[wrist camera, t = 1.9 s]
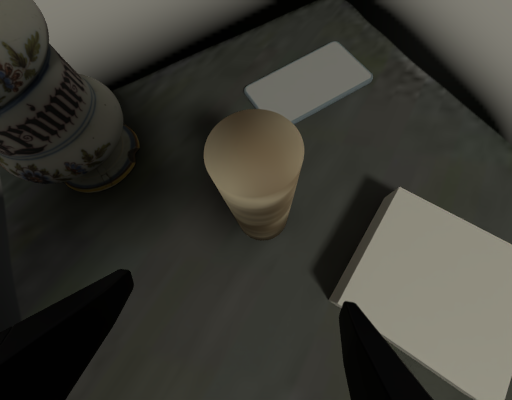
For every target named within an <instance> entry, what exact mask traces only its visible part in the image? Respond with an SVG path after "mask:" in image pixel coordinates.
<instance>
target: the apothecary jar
mask: <svg viewBox="0 0 512 400" xmlns="http://www.w3.org/2000/svg"><path fill="white" fill-rule="evenodd" d="M138 150H139V140H138V138H137V135H136V134H135V133H134V131H133V130H132V129H131V128H129V127H128V126H126V125H124V124H123V113H122V110H121V106H120V104H119V102H118V100H117V98H116V97H115V95H114V94H113V93H112V92H111V91H110V90H109V89H108V88H107V87H106V86H105V85H104V84H102V83H101V82H99V81H97V80H95V79H93V78H91V77H88V76H85V75H81V74H78V73H77V72H76V71H75V70H74V69H73V68H72V67H71V66H70V65H69V64H68V63H67V62H66V61H65V60H64V59H63V58H62V57H61V56H60V55H59V54H58V53H57V51H56V50H55V49H54V48H53V47H52V46H51V45H50V44H49V35H48V28H47V24H46V21H45V19H44V17H43V14H42V13H41V11H40V9H39V8H38V6H37V5H36V3H35V2H34V1H33V0H0V165H1V166H2V167H3V168H4V169H6V170H7V171H8V172H10V173H11V174H13V175H15V176H17V177H19V178H21V179H24V180H27V181H30V182H35V183H44V184H53V183H61V182H65V184H66V185H67V186H69V187H70V188H72V189H73V190H76V191H79V192H85V193H93V192H99V191H103V190H106V189H108V188H111V187H113V186H114V185H116V184H118V183H119V182H121V181H122V180H123V179H124V178H125V177H126V176H127V175H128V174H129V173H130V172H131V170H132V169H133V167H134V166H135V164H136V161H135V154H136V152H137V151H138Z"/></svg>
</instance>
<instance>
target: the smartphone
mask: <svg viewBox="0 0 512 400" xmlns="http://www.w3.org/2000/svg"><path fill="white" fill-rule="evenodd" d="M372 79H373V75H372V73H371V72H370V71H369V70H368V69H366V68H365V67H364V66H363V65H362V64H361V63H360V62H359V61H358V60H357V59H356V58H355V57H354V56H353V55H352V54H351V53H350V52H348V51H347V50H346V49H345V48H344V47H343V46H342V45H341V44H340V43H339V42H336V41H333V42H330V43H328V44H327V45H325V46H323V47H321V48H319V49H317V50H315V51H313V52H311V53H309V54H307V55H305V56H303V57H301V58H299V59H298V60H296V61H294V62H292V63H290V64H288V65H286V66H284V67H282V68H280V69H278V70H276V71H274V72H272V73H270V74H269V75H267V76H265V77H263V78H261V79H259V80H257V81H255V82H253V83H251V84H249V85H247V86H246V87H245V88H244V94H245V95H246V97H247V98H248V99H249V101H250V102H251V103H252V104H253V106H254V107H255V108H256V109H264V110H269V111H273V112H276V113H278V114H280V115H282V116H284V117H285V118H287V119H288V120H289V121H291V122H292V123H293V124H295V123H297V122H299V121H301V120H303V119H305V118H306V117H308V116H310V115H312V114H314V113H316V112H318V111H319V110H321V109H323V108H325V107H327V106H329V105H330V104H332V103H334V102H336V101H338V100H340V99H341V98H343V97H345V96H347V95H349V94H351V93H352V92H354V91H356V90H358V89H360V88H362V87H363V86H365V85H367V84H369V83H370V82H371V81H372Z"/></svg>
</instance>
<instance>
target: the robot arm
mask: <svg viewBox="0 0 512 400" xmlns="http://www.w3.org/2000/svg"><path fill="white" fill-rule="evenodd" d="M133 287H134V283H133V279H132V275H131V272H130V271H129V270H124V269H119V270H117V271H115V272H113V273H111V274H110V275H108V276H106V277H104V278H102V279H100V280H98V281H96V282H94V283H93V284H91V285H89V286H87V287H85V288H83V289H81V290H79V291H77V292H76V293H74V294H72V295H70V296H68V297H66V298H64V299H62V300H61V301H59V302H57V303H55V304H53V305H51V306H49V307H47V308H45V309H44V310H42V311H40V312H38V313H36V314H34V315H32V316H30V317H28V318H27V319H25V320H23V321H21V322H19V323H17V324H15V325H14V326H13V327H9V328H8V329H6V330H4V331H2V332H0V400H65V399H66V398H67V396H68V395H69V393H70V392H71V390H72V389H73V387H74V386H75V384H76V383H77V381H78V379H79V378H80V376H81V375H82V373H83V372H84V370H85V369H86V367H87V366H88V364H89V362H90V361H91V359H92V358H93V356H94V355H95V353H96V352H97V350H98V349H99V347H100V346H101V344H102V342H103V341H104V339H105V338H106V336H107V335H108V333H109V332H110V330H111V328H112V327H113V325H114V324H115V322H116V320H117V318H118V316H119V314H120V313H121V311H122V309H123V307H124V305H125V303H126V301H127V299H128V297H129V296H130V294H131V292H132V290H133ZM339 325H340V334H341V344H342V354H343V362H344V368H345V373H346V378H347V383H348V388H349V393H350V397H351V400H433V398H432V397H431V396H430V395H429V394H428V392H427V391H426V390H425V389H424V387H423V386H422V385H421V384H420V382H419V381H418V380H417V379H416V377H415V376H414V375H413V374H412V372H411V371H410V370H409V369H408V367H407V366H406V365H405V364H404V362H403V361H402V360H401V359H400V357H399V356H398V355H397V354H396V353H395V351H394V350H393V349H392V348H391V346H390V345H389V344H388V343H387V341H386V340H385V339H384V338H383V336H382V335H381V334H380V333H379V331H378V330H377V329H376V328H375V326H374V325H373V324H372V323H371V321H370V320H369V319H368V318H367V316H366V315H365V314H364V313H363V312H362V310H361V309H360V308H359V307H358V305H357V304H356V303H354V302H349V301H344V302H343V305H342V308H341V311H340V315H339Z"/></svg>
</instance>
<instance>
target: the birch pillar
mask: <svg viewBox="0 0 512 400" xmlns="http://www.w3.org/2000/svg"><path fill="white" fill-rule="evenodd" d="M303 158H304V144H303V140H302V137H301V135H300V133H299V131H298V129H297V128H296V127H295V125H294V124H293V123H292V122H291V121H289V120H288V119H287V118H285V117H284V116H282V115H280V114H278V113H276V112H273V111H269V110H264V109H248V110H243V111H239V112H236V113H234V114H231V115H229V116H228V117H226V118H224V119H223V120H222V121H220V122H219V123H218V124H217V125H216V126H215V127H214V128H213V130H212V131H211V133H210V134H209V136H208V138H207V140H206V143H205V147H204V163H205V166H206V169H207V171H208V173H209V175H210V177H211V178H212V180H213V182H214V184H215V185H216V187H217V189H218V190H219V192H220V194H221V195H222V197H223V199H224V200H225V202H226V204H227V205H228V207H229V209H230V210H231V212H232V214H233V215H234V217H235V219H236V220H237V222H238V224H239V225H240V227H241V229H242V230H243V231H244V233H245V234H247V235H248V236H249V237H251V238H253V239H256V240H269V239H272V238H274V237H276V236H277V235H279V234H280V233H281V232H282V231H283V229H284V227H285V225H286V222H287V219H288V215H289V211H290V207H291V204H292V200H293V196H294V192H295V189H296V185H297V181H298V177H299V174H300V170H301V166H302V162H303Z"/></svg>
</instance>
